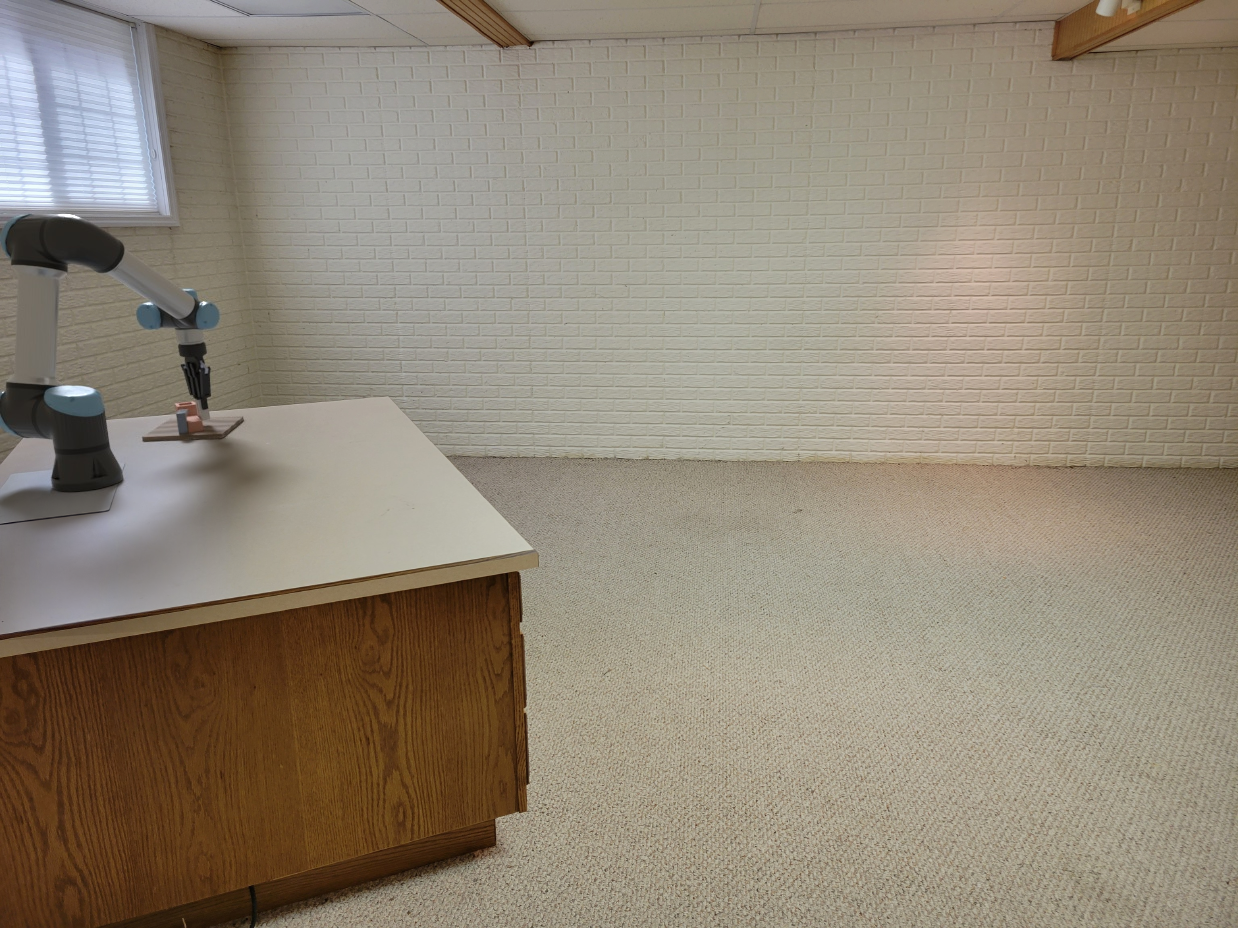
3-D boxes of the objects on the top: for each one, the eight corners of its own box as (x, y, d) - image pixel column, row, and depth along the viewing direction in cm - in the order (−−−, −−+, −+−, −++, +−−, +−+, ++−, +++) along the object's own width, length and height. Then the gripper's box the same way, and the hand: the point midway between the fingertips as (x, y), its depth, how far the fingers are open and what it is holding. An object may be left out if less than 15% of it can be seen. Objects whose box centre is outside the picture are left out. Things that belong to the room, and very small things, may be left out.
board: (222, 438, 261) (221, 434, 261) (142, 441, 258) (142, 437, 258) (243, 420, 284) (243, 416, 284) (170, 422, 281) (170, 418, 281)
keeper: (188, 437, 262) (185, 413, 260) (179, 438, 261) (176, 413, 259) (191, 433, 267) (187, 409, 265) (182, 433, 266) (178, 409, 264)
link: (206, 430, 266) (203, 410, 264) (186, 432, 263) (183, 412, 261) (196, 420, 278) (193, 401, 277) (177, 422, 276) (174, 403, 274)
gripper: (215, 342, 263) (227, 419, 270) (191, 338, 271) (204, 413, 278) (190, 346, 257) (204, 425, 264) (167, 342, 265) (181, 419, 272)
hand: (204, 419), depth 271 cm, fingers closed
